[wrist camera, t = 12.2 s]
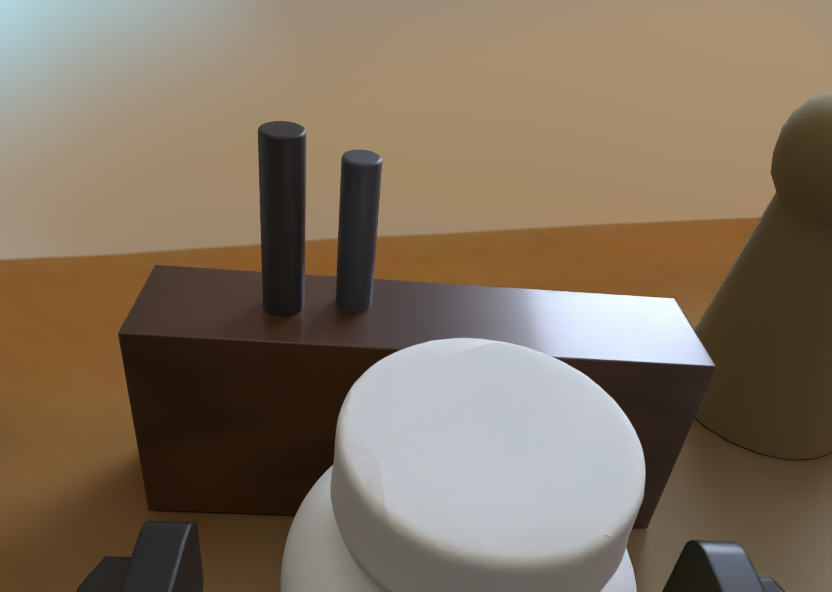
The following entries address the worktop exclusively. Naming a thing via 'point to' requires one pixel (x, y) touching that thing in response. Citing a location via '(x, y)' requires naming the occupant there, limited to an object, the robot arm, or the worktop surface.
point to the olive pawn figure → (779, 307)
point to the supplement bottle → (472, 479)
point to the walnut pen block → (355, 350)
